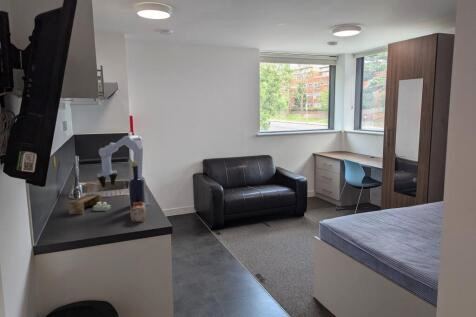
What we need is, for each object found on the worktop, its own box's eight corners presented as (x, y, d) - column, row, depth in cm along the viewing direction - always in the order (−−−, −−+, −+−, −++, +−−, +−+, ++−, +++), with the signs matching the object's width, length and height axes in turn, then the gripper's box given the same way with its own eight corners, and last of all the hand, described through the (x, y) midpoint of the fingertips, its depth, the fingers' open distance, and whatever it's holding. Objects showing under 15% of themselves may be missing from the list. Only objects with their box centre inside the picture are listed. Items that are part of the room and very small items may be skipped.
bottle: (147, 209, 205) (144, 160, 200) (144, 214, 195) (140, 162, 191) (132, 210, 204) (128, 160, 200) (127, 214, 195) (124, 163, 191)
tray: (111, 208, 208) (110, 201, 208) (106, 211, 203) (106, 203, 203) (97, 208, 210) (97, 201, 209) (92, 210, 205) (92, 203, 204)
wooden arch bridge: (101, 204, 217) (101, 194, 216) (83, 214, 198) (82, 202, 197) (89, 204, 219) (88, 194, 218) (69, 213, 200) (68, 202, 199)
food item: (146, 222, 182) (145, 204, 180) (130, 224, 180) (129, 205, 178) (146, 215, 195) (145, 198, 193) (132, 216, 193) (131, 199, 191)
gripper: (111, 163, 232) (112, 183, 234) (93, 167, 220) (95, 187, 221) (118, 164, 229) (120, 184, 231) (100, 167, 216) (102, 188, 218)
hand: (108, 186), depth 226 cm, fingers open, 7 cm apart
